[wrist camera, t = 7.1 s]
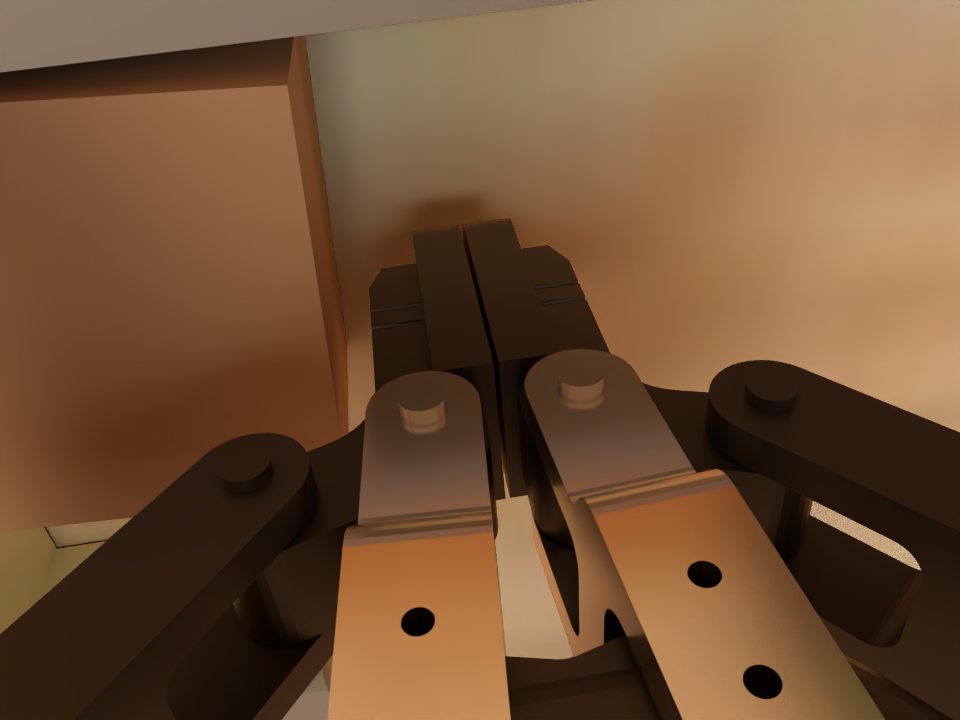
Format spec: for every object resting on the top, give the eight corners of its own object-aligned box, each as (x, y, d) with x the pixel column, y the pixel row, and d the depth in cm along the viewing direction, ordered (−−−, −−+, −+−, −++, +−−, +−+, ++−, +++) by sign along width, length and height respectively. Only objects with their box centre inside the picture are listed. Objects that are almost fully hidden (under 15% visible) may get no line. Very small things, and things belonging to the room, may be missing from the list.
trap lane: (1663, -288, 12) (2065, -295, 9) (1113, 610, 25) (1213, 722, 22) (-410, -63, 10) (-687, 13, 7) (141, 778, 23) (115, 923, 20)
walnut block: (299, -8, 12) (287, 85, 9) (346, 337, 16) (349, 493, 12) (-151, 14, 11) (-342, 123, 8) (6, 369, 15) (-84, 540, 12)
